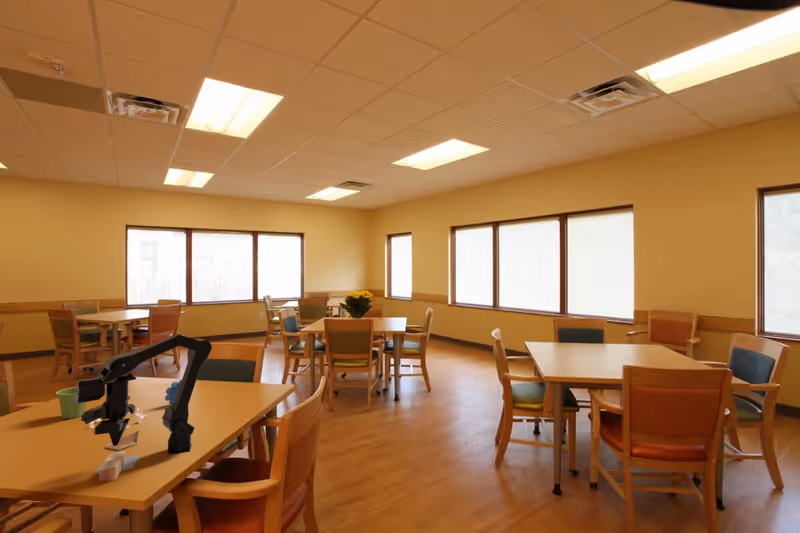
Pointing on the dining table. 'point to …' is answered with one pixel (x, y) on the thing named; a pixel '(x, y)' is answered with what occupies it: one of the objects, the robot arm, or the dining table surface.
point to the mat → (126, 463)
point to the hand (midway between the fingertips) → (115, 445)
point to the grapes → (172, 392)
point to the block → (112, 466)
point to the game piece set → (128, 413)
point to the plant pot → (70, 404)
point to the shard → (125, 442)
